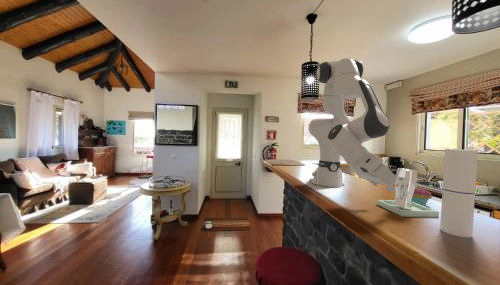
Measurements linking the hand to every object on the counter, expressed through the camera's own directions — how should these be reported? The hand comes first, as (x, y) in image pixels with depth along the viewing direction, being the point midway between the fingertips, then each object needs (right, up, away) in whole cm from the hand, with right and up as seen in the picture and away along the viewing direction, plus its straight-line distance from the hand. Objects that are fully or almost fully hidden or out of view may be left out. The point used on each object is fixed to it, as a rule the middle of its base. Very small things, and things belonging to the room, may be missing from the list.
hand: (384, 187), depth 86 cm
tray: (+9, -9, +1) cm, 13 cm away
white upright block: (+9, -8, +2) cm, 12 cm away
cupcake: (+22, -10, +11) cm, 26 cm away
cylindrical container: (+10, -10, -19) cm, 24 cm away
